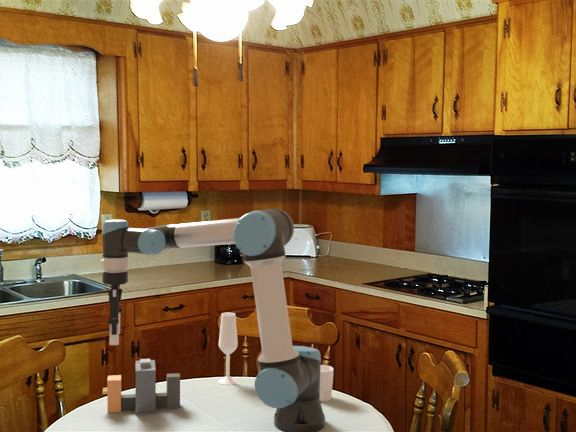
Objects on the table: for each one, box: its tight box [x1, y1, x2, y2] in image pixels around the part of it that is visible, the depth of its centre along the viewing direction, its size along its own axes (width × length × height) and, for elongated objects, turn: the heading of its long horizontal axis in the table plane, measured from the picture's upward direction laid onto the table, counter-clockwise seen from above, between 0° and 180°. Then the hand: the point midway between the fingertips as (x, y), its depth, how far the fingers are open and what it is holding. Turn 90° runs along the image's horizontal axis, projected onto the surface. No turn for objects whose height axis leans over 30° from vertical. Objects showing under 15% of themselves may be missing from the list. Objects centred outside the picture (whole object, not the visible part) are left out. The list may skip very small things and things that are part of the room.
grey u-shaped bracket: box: [135, 358, 157, 415], centre depth 225 cm, size 6×11×15 cm, turn 12°
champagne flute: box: [217, 312, 239, 386], centre depth 252 cm, size 7×7×24 cm
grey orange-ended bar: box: [102, 372, 181, 414], centre depth 225 cm, size 24×5×10 cm, turn 102°
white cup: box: [320, 364, 335, 402], centre depth 237 cm, size 8×8×10 cm
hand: (115, 339), depth 222 cm, fingers open, 13 cm apart
